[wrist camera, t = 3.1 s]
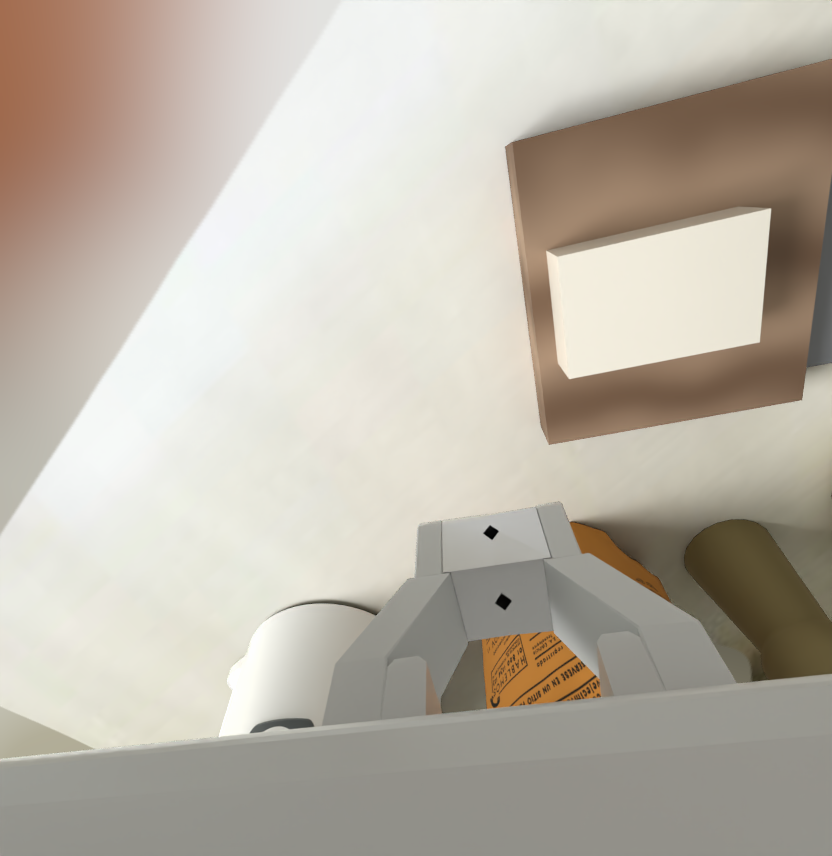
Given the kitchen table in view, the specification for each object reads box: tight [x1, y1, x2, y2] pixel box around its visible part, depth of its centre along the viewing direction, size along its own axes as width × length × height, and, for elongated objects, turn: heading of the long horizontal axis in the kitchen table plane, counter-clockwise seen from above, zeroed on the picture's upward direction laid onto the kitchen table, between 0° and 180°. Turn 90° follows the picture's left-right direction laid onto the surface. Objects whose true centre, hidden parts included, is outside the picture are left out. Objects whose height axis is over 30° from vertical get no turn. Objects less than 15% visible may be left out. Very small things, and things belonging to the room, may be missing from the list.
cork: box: [684, 520, 832, 680], centre depth 30 cm, size 6×6×11 cm
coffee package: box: [482, 522, 672, 709], centre depth 27 cm, size 10×12×22 cm
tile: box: [546, 206, 771, 379], centre depth 24 cm, size 6×9×2 cm, turn 103°
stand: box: [505, 59, 832, 445], centre depth 26 cm, size 16×14×2 cm
